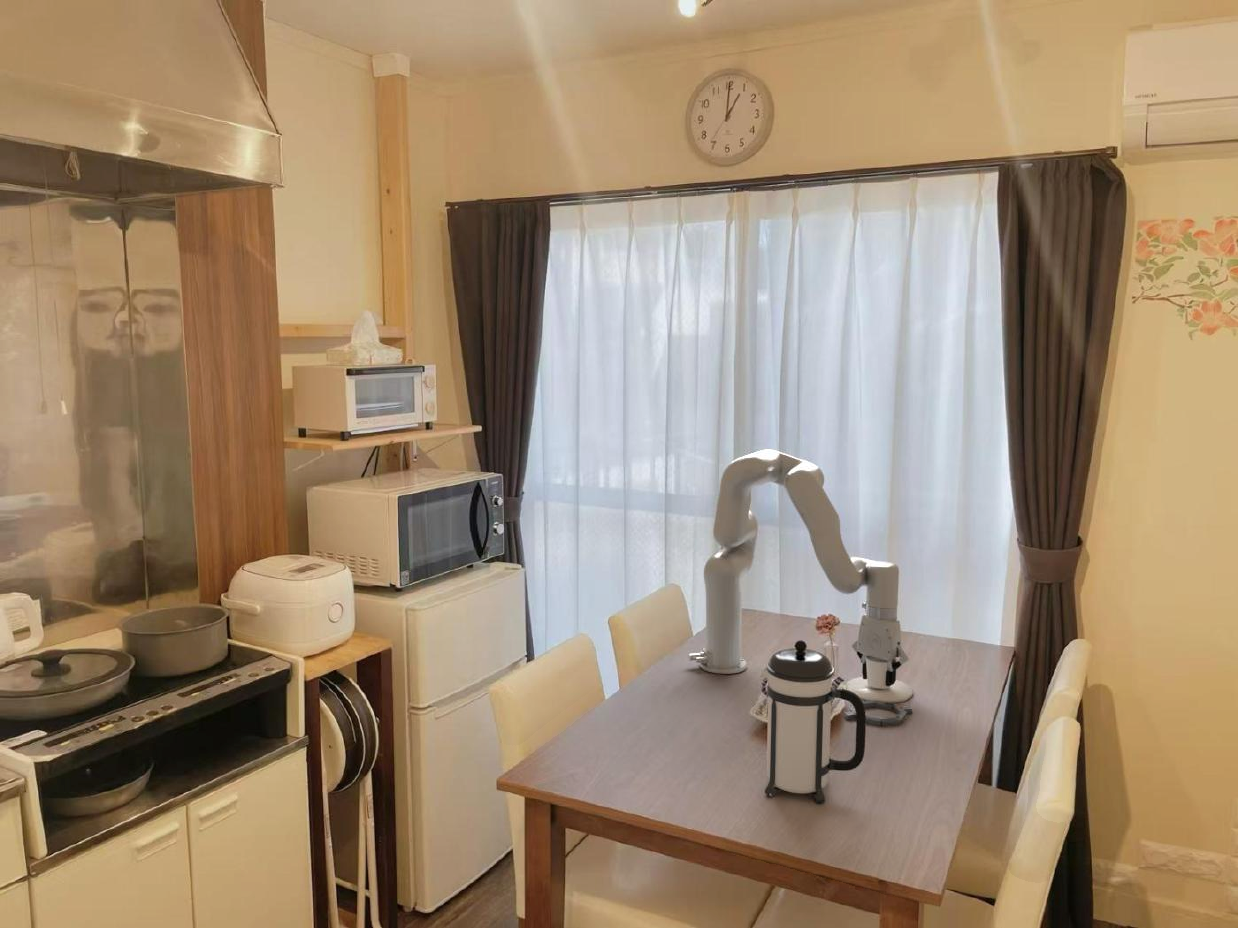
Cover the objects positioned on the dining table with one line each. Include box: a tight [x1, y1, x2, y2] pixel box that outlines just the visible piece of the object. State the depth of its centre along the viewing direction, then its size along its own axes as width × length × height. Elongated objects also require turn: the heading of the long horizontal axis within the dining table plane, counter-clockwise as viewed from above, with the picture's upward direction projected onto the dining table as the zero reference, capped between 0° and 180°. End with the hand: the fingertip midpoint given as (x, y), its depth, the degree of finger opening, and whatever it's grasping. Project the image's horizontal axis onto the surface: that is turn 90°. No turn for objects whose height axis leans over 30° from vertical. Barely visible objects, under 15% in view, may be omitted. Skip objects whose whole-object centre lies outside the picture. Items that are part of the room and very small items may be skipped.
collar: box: [843, 700, 913, 727], centre depth 219 cm, size 17×12×1 cm
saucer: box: [846, 676, 913, 704], centre depth 234 cm, size 16×16×1 cm
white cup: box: [866, 656, 893, 688], centre depth 234 cm, size 7×7×7 cm
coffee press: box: [759, 640, 867, 805], centre depth 182 cm, size 17×16×30 cm
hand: (878, 680), depth 234 cm, fingers closed on white cup, 5 cm apart
